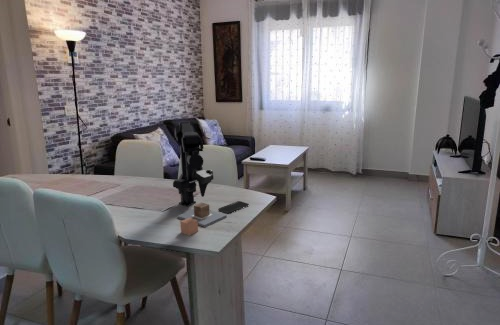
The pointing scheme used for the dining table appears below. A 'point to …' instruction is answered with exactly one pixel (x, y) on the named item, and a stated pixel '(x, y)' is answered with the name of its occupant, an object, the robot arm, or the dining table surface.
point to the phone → (233, 207)
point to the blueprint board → (205, 220)
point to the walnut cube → (201, 210)
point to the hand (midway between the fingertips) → (195, 199)
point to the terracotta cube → (189, 226)
